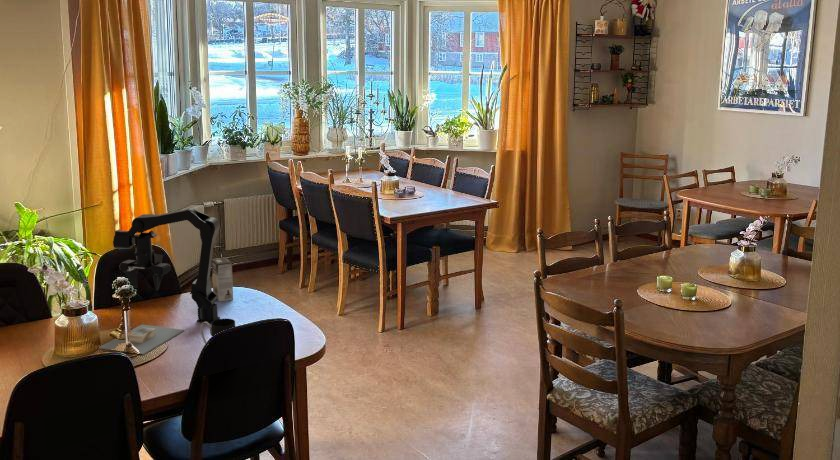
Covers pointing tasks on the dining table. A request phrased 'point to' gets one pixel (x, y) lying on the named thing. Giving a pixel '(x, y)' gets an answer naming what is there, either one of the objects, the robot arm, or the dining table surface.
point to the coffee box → (222, 278)
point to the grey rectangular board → (150, 344)
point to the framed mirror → (142, 335)
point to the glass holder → (218, 326)
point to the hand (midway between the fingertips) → (146, 289)
